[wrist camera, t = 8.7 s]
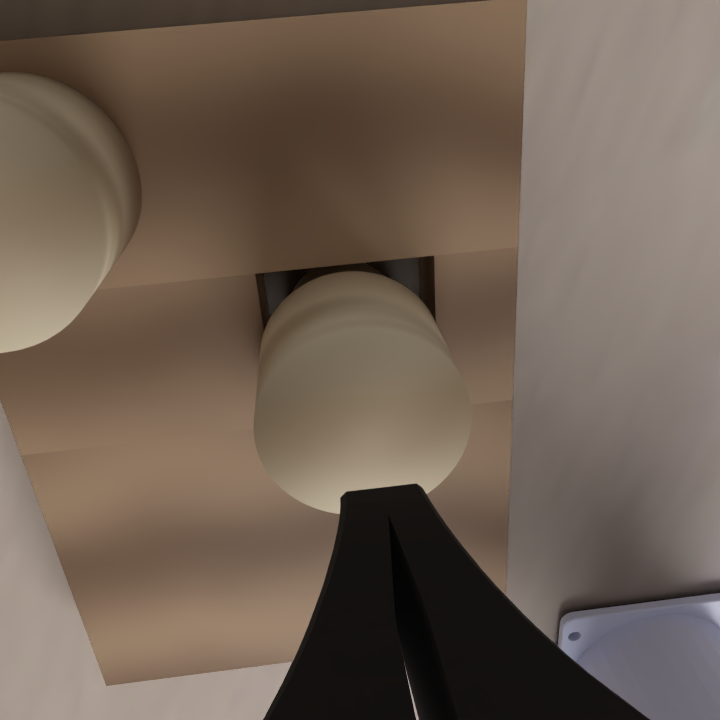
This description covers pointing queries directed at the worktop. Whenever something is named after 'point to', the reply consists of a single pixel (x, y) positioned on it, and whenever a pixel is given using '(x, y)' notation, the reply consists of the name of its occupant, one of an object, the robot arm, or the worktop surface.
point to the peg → (356, 389)
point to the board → (239, 294)
